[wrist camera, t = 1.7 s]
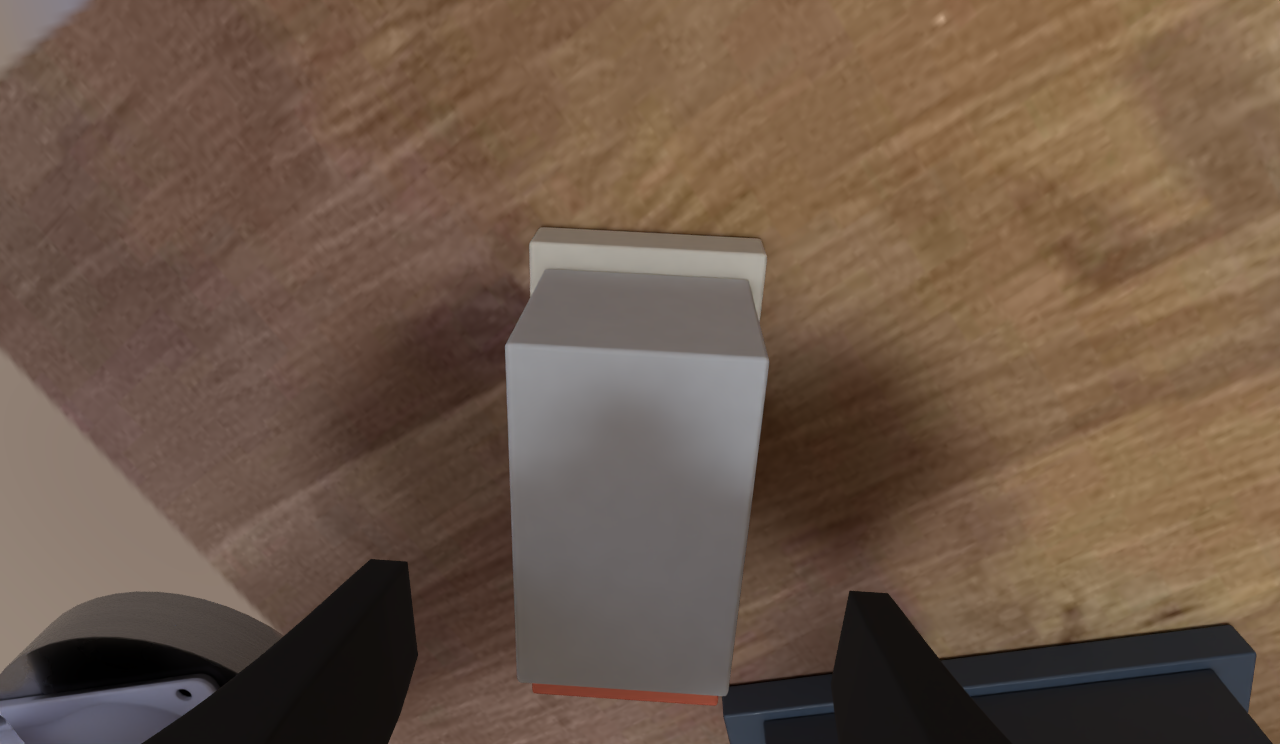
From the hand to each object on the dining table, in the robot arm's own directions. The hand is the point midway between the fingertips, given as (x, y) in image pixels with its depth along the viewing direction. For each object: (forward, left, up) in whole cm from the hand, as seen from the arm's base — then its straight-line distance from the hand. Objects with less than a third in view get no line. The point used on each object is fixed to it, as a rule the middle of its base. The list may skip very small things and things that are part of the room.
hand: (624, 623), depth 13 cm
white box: (0, 0, -6) cm, 6 cm away
